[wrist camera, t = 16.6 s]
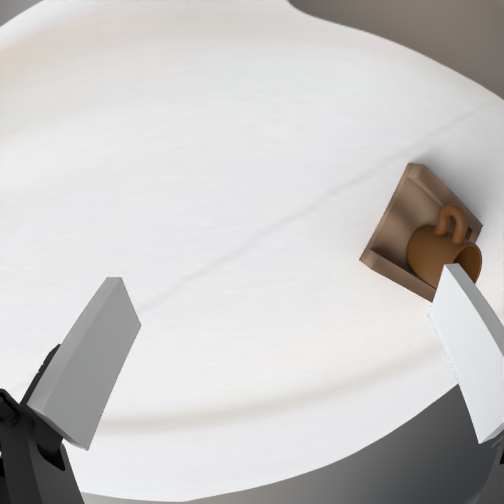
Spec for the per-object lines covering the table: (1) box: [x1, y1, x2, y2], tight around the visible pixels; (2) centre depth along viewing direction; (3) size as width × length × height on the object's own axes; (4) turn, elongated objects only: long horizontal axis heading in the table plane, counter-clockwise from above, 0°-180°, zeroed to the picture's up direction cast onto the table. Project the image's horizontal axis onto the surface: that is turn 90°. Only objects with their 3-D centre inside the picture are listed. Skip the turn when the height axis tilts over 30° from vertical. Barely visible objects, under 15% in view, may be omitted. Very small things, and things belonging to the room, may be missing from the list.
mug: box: [406, 203, 482, 289], centre depth 32 cm, size 12×8×9 cm, turn 15°
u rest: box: [359, 164, 483, 303], centre depth 36 cm, size 15×17×4 cm
